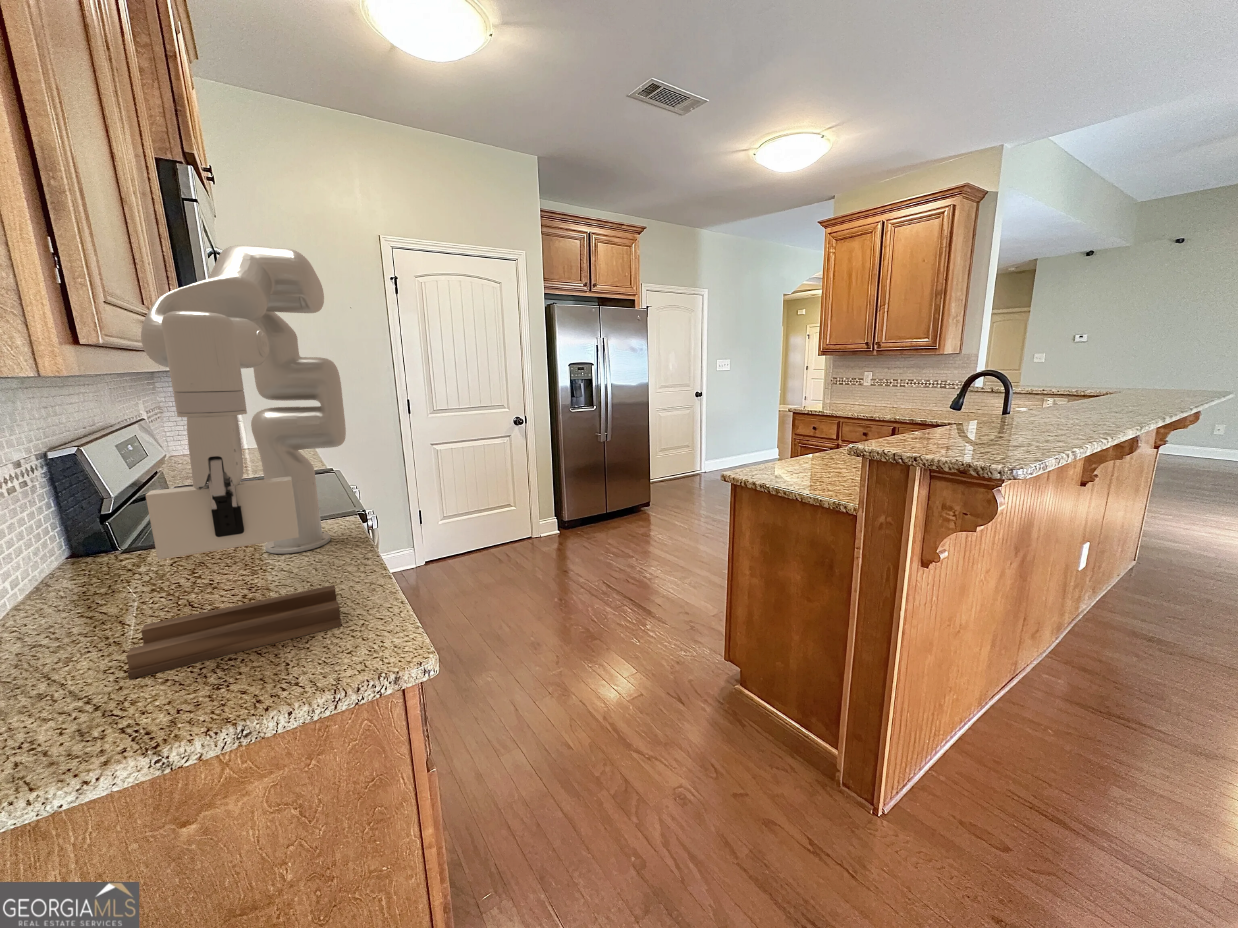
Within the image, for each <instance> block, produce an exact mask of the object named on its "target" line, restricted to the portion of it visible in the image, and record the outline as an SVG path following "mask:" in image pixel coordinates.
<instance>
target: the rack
mask: <svg viewBox="0 0 1238 928" xmlns="http://www.w3.org/2000/svg"><path fill="white" fill-rule="evenodd" d="M335 586H336V585H335V584H330V585H326V586H322V587H316V588H313V589H307V590H303V591H299V592H295V593H294V592H293V593H288V594H283V595H279V596H274V597H270V598H265V599H259V600H255V601H250V602H245V603H240V604H236V605H235V604H234V605H232V606H227V607H221V608H217V609H213V610H207V611H203V612H198V613H193V614H188V615H184V616H178V617H173V618H169V619H164V620H159V621H155V622H149V623H146V624H145V623H144V625H143V627H142V628H141V630H140V632H141V637H142V643H143V644H142V645H139V646H136V647H132V648H131V647H130V648H129V650H128V652H127V653H126V660H127V664H128V671H127V675H128V680H133V679H137V678H141V677H143V676H144V677H145V676H149V675H151V674H152V675H153V674H156V673H160V672H164V671H169V670H172V669H176V668H179V667H185V666H187V665H188V666H189V665H192V664H196V663H199V662H203V661H208V660H212V659H215V658H220V657H223V656H227V655H232V654H236V653H239V652H243V651H248V650H251V649H255V648H259V647H263V646H267V645H271V644H275V643H279V642H280V643H281V642H283V641H287V640H291V639H296V638H299V637H304V636H307V635H311V634H315V633H318V632H319V633H320V632H323V631H328V630H331V629H337V628H340V627H342V622H341V621H342V619H341V615H340V614H341V613H340V606H339V602H338V600H337V593H336V587H335Z"/></svg>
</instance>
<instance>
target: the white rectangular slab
mask: <svg viewBox="0 0 1238 928" xmlns="http://www.w3.org/2000/svg"><path fill="white" fill-rule="evenodd" d="M229 485H231V483H225V486H229ZM228 491H229V492H230V490H228ZM228 491H226V492H228ZM230 493H231V492H230ZM236 495H237V502H238V506H241V512H242V518H243V525H244V532H243V533H242V534H237V535H230V536H223V537H217V536H216V535H215V530H214V524H213V517H212V511H211V510H212V504H211V497H210V491H209V484H206V485H205V486H204V487H203V488H202V489H201V490H197V489H195V488H194V487H193V485H192V486H184V487H183V486H182V487H172V488H164V489H153V490H149V491H148V492H147V493H146V494H145V500H146V506H147V510H148V516H149V520H150V522H149V523H150V525H151V532H152V536H153V542H154V546H155V547H154V548H155V551H156V552H155V553H156V558H157V560H163V559H164V560H165V559H171V558H176V557H184V556H189V555H196V554H201V553H207V552H215V551H221V550H227V549H233V548H234V549H235V548H240V547H246V546H253V545H260V544H266V543H267V542H272V541H279V540H285V539H291V538H298V537H299V531H298V523H297V516H296V508H295V501H294V493H293V486H292V478H291V477H281V478H271V479H264V478H262V479H261V478H260V479H253V480H244V481H243V480H241V482H240V483H239V484H238V485H237V486H236Z"/></svg>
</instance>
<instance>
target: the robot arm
mask: <svg viewBox="0 0 1238 928" xmlns="http://www.w3.org/2000/svg"><path fill="white" fill-rule="evenodd" d="M324 303H325V295H324V288H323V285H322V282H321V280H320V279H319V276H318V274H317V272H316V271H315V269H314V267H313V265H312V264H311V262H310V261H309V260H308V258H307V257H306V256H305V255H303V254H302V253H300V252H299V251H297V250H296V249H295V250H294V249H291V248H282V247H281V248H280V247H270V246H260V245H248V244H247V245H245V244H240V245H239V244H237V245H236V244H235V245H232V246H227V247H226V248H224V249H223V250H222V251H221V252H220V254H219V255H218V257H217V259H216V261H215V263H214V265H213V268H212V270H211V271H210V274H209V276H208V278H206V279H202V280H199V281H196V282H193V283H190V284H188V285H185V286H181V287H179V288H176V289H172V290H171V291H168V292H167V293H164V294H162V295H160V296H159V297H158V298H156V300H154V302H153V303H152V305H151V307H150V308H149V310H148V312H147V313H146V315H145V317H144V320H143V322H142V326H141V331H140V339H141V345H142V348H143V350H144V353H145V354H146V356H148V358H149V359H150V360H151V361H152V362H154V363H155V364H156V365H157V364H158V365H160V366H161V367H165V368H168V370H169V375H170V382H171V387H172V392H173V399H174V405H175V411H176V416H177V418H186V434H187V444H188V445H187V447H188V452H189V461H190V469H191V479H192V486H193V487H194V488H195V489H197V490H201V489H202V488H203V487H204V486H205V485H209V491H210V497H211V504H212V510H211V511H212V517H213V524H214V530H215V535H216V536H217V537H223V536H230V535H237V534H242V533H243V532H244V525H243V518H242V512H241V506H238V502H237V495H236V486H237V485H238V484H239V483H240V482H241V481H243V477H244V459H243V457H244V456H243V448H242V441H241V433H240V426H239V420H238V416H240V415H241V416H242V415H247V414H248V410H247V404H246V396H245V391H244V390H245V389H244V383H243V375H242V369H252V368H253V374H254V375H253V376H254V382H255V388H256V391H257V393H258V395H259V396H260V397H262V398H263V399H265V400H269V401H276V402H277V401H280V402H281V401H284V402H286V401H295V402H296V401H315V402H318V403H319V404H320V405H318V406H314V405H313V406H276V407H275V406H274V407H267V408H264V409H261V410H258V411H257V412H256V413H255V414H253V416H252V418H251V420H250V424H251V425H250V427H251V433H252V436H253V439H254V441H255V444H256V448H257V451H258V454H259V456H260V462H261V468H262V474H263V479H271V478H281V477H291V478H292V486H293V493H294V501H295V508H296V516H297V523H298V531H299V537H298V538H291V539H285V540H279V541H272V542H266V543H265V545H264V548H265V551H266V552H267V553H270V554H279V555H282V554H285V555H286V554H295V553H301V552H306V551H310V550H314V549H316V548H319V547H322V546H324V545H326V544H328V543H329V542H330V541H331V533H329V532H326V531H323V530H322V529H323V528H322V520H321V513H320V504H319V495H318V494H319V493H318V486H317V480H316V470H315V468H314V466H313V464H312V463H311V461H310V460H309V459H308V458H307V457H306V456H304V455H303V454H302V453H301V452H300V451H303V450H315V449H316V450H317V449H330V448H336V447H338V448H339V446H342V445H343V444H344V442H345V441H346V437H347V434H346V432H347V430H346V429H347V428H346V417H345V410H344V409H345V408H344V399H343V390H342V382H341V377H340V372H339V370H338V366H337V365H336V364H335V362H334V361H333V360H331V359H329V358H327V357H316V356H315V357H314V356H313V357H312V356H310V357H308V356H305V357H303V356H301V355H300V351H299V349H300V348H299V341H298V335H297V333H296V331H295V330H294V328H293V327H291V326H290V324H289V323H287V321H286V320H284V319H283V318H282V317H281V316H280V315H278V314H277V313H290V314H292V313H293V314H315V313H318V312H320V311H321V310H322V308H323V307H324ZM225 483H231V485H229V486H225ZM228 490H230V492H231V493H230V492H229V491H228ZM226 491H228V492H226Z"/></svg>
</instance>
